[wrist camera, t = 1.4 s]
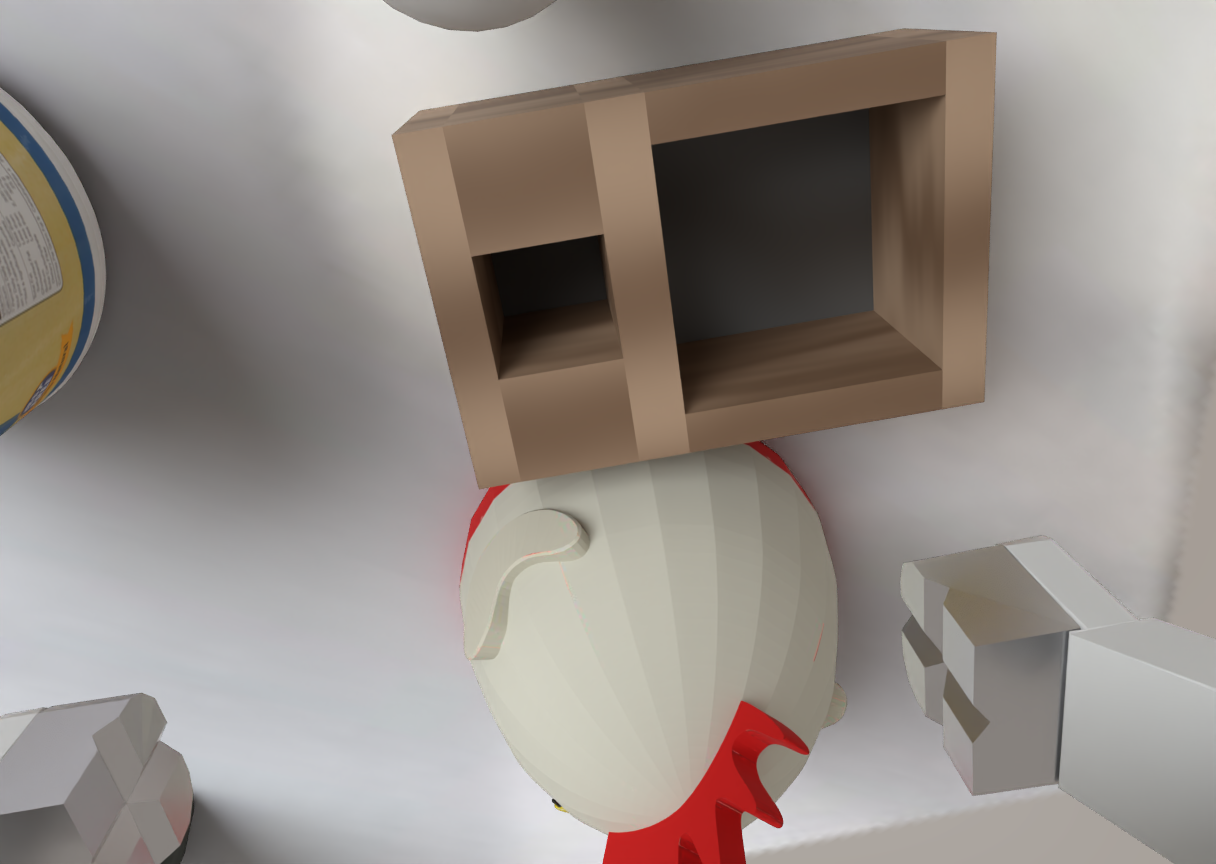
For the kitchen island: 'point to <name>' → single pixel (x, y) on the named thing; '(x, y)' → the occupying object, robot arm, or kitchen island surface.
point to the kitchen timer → (657, 644)
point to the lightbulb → (470, 12)
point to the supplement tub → (43, 266)
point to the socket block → (710, 250)
